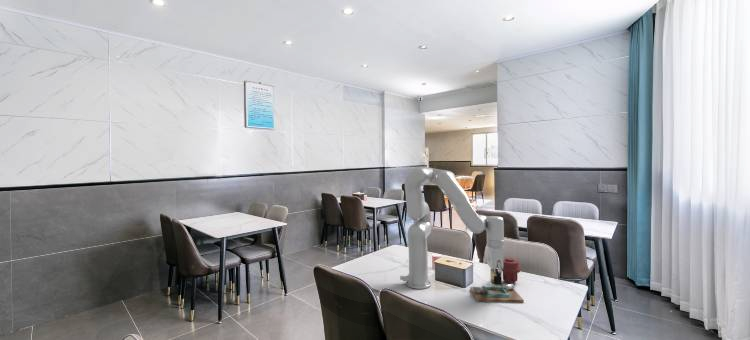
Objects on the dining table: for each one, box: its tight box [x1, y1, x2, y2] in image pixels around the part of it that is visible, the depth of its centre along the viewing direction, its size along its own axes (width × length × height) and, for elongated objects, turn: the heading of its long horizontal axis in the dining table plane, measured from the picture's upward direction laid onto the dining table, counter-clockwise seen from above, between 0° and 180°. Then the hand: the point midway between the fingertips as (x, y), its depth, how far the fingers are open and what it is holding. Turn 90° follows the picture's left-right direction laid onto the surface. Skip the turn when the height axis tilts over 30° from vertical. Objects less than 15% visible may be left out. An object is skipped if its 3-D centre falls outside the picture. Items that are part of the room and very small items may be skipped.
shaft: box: [501, 283, 515, 292], centre depth 152 cm, size 5×4×4 cm
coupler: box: [489, 269, 503, 286], centre depth 149 cm, size 5×5×6 cm
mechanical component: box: [502, 257, 522, 285], centre depth 165 cm, size 12×10×10 cm
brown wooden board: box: [470, 285, 525, 304], centre depth 149 cm, size 20×14×4 cm
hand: (496, 281), depth 149 cm, fingers closed on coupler, 4 cm apart
